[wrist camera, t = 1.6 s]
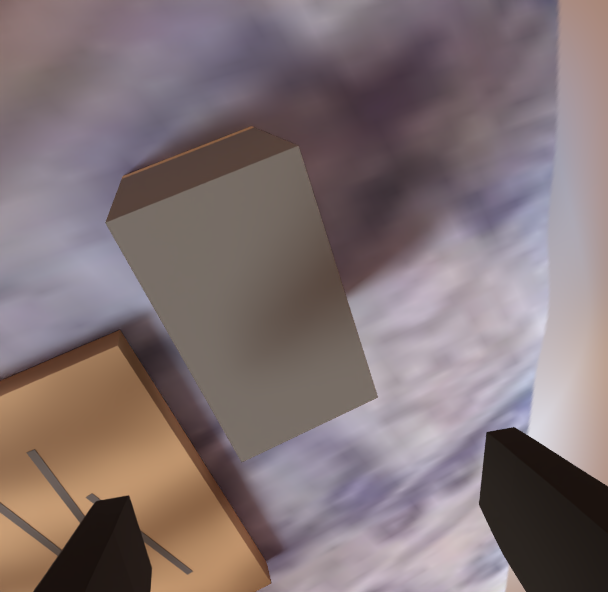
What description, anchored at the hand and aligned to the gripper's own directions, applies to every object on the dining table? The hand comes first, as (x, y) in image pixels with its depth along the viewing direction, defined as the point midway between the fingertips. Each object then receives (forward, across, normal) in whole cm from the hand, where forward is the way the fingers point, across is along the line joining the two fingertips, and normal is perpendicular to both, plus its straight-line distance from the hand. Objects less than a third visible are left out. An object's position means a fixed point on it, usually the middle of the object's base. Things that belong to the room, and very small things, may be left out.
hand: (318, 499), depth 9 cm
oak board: (+9, +10, +9) cm, 16 cm away
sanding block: (+10, +1, -2) cm, 10 cm away
